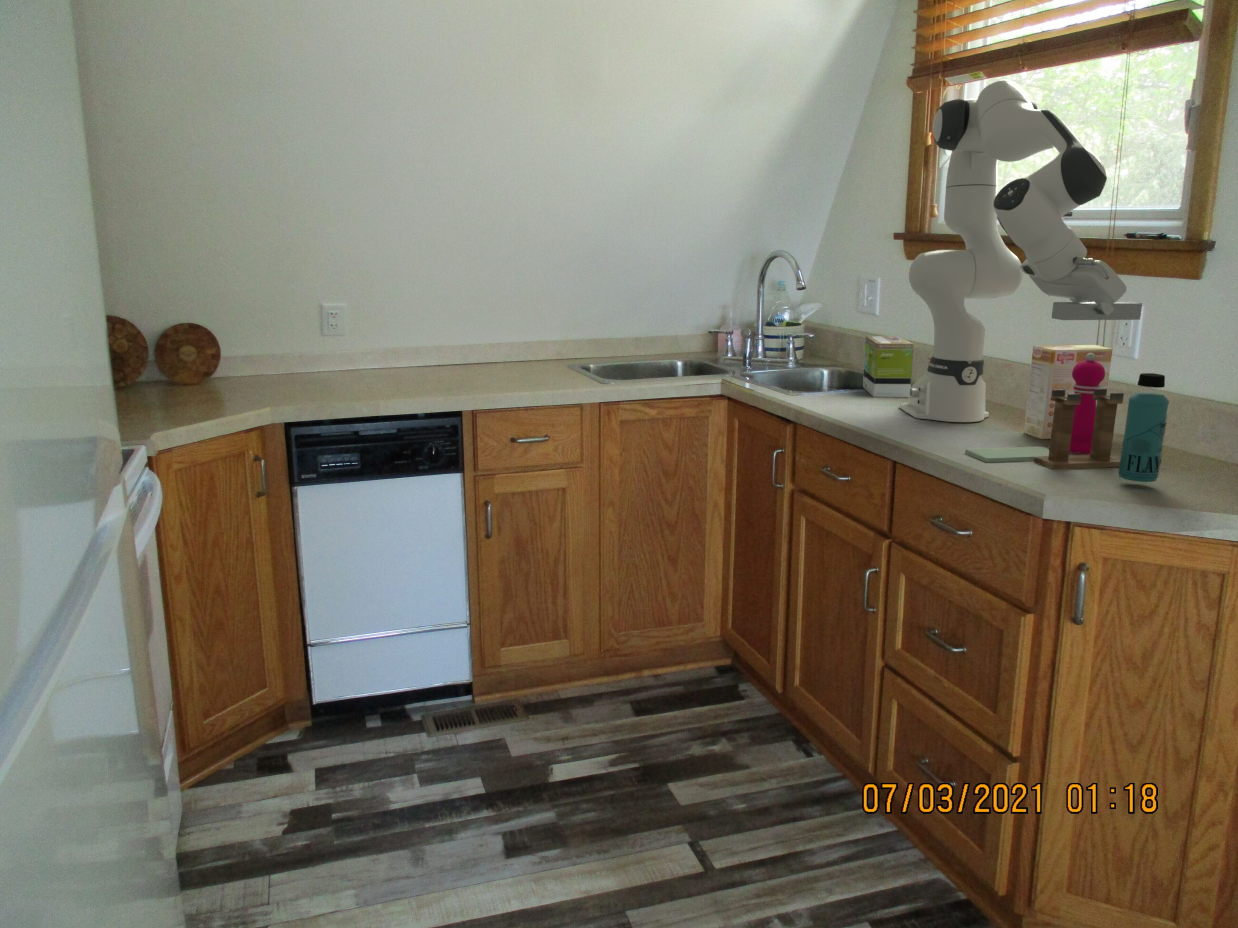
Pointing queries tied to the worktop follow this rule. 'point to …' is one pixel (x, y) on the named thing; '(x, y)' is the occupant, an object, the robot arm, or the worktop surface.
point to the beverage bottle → (1144, 431)
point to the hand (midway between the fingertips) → (1099, 311)
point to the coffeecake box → (1056, 381)
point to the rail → (1095, 311)
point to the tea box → (888, 366)
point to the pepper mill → (1085, 403)
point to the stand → (1064, 430)
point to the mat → (1008, 454)
